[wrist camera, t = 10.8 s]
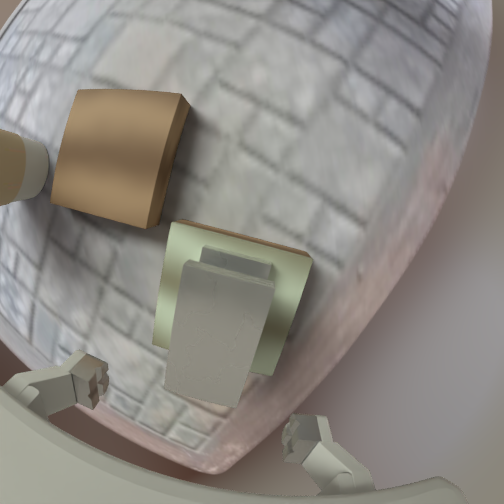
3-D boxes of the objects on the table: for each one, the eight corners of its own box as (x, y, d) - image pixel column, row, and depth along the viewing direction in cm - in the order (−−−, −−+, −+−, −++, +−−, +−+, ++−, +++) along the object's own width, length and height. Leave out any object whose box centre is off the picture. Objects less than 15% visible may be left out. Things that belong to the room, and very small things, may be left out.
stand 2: (182, 219, 23) (171, 222, 20) (306, 251, 23) (313, 259, 20) (162, 329, 25) (152, 344, 22) (270, 358, 25) (272, 376, 22)
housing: (205, 244, 20) (183, 264, 14) (270, 261, 20) (275, 288, 14) (185, 344, 22) (163, 388, 16) (241, 359, 22) (236, 408, 16)
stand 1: (93, 97, 21) (77, 89, 18) (190, 105, 21) (181, 93, 18) (68, 201, 23) (49, 202, 20) (158, 224, 23) (145, 228, 20)
